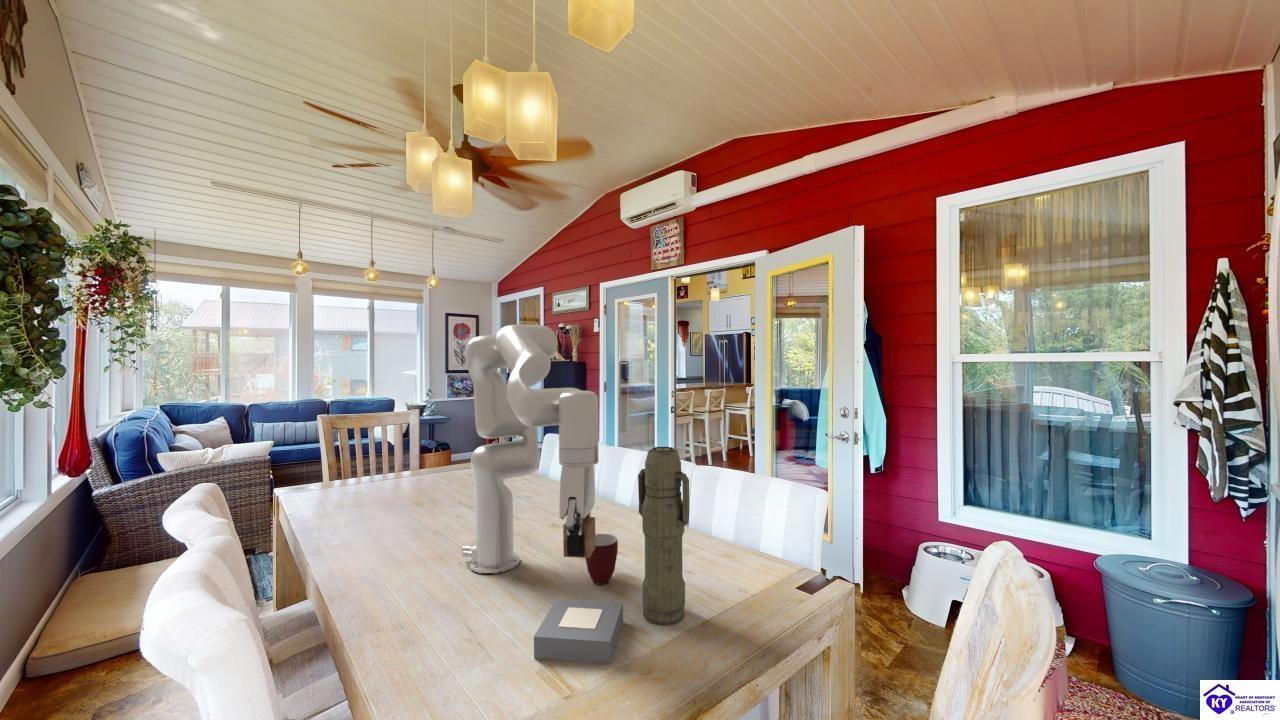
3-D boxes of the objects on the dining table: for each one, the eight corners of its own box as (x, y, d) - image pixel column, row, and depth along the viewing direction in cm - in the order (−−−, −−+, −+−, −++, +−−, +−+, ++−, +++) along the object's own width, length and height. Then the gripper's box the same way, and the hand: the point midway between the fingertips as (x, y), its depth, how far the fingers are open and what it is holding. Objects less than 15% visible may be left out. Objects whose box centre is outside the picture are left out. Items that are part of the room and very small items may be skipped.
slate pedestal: (534, 658, 90) (533, 635, 90) (556, 617, 104) (556, 597, 104) (610, 664, 88) (610, 640, 88) (623, 622, 102) (622, 601, 102)
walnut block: (563, 556, 94) (563, 525, 94) (570, 546, 99) (570, 516, 99) (589, 557, 93) (589, 525, 93) (595, 547, 98) (595, 517, 98)
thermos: (648, 598, 112) (647, 443, 111) (697, 611, 106) (696, 447, 106) (628, 617, 104) (627, 449, 104) (680, 632, 98) (679, 455, 98)
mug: (597, 567, 128) (597, 528, 128) (626, 572, 126) (626, 532, 125) (578, 585, 118) (578, 543, 118) (610, 590, 116) (609, 547, 116)
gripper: (571, 446, 105) (572, 533, 105) (545, 464, 88) (547, 567, 88) (606, 447, 104) (607, 534, 104) (587, 465, 87) (588, 569, 87)
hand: (579, 548), depth 96 cm, fingers closed on walnut block, 5 cm apart
